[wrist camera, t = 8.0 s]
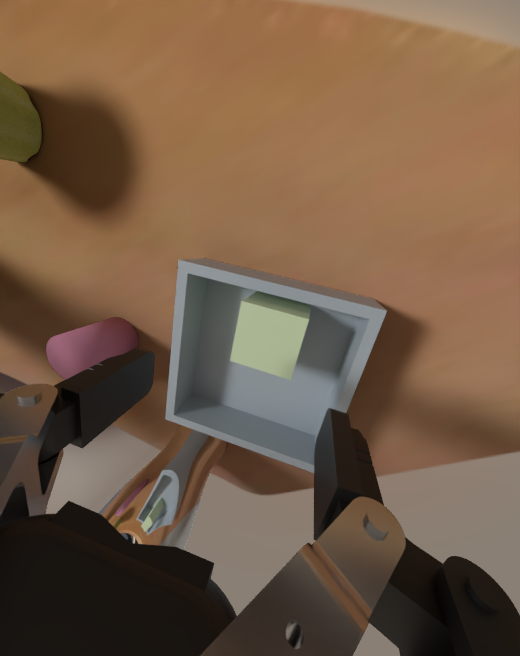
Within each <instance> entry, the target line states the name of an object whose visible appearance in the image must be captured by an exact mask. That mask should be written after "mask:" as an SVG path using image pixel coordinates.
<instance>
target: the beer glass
mask: <svg viewBox="0 0 520 656" xmlns="http://www.w3.org/2000/svg"><path fill="white" fill-rule="evenodd" d="M226 445H227V442H226V441H224V440H221V439H218V438H215V437H213V436H210V435H207V434H204V433H202V432H199V431H196V430H193V429H191V428H188V427H185V426H182V425H180V424H179V425H178V427H177V429H176V431H175V433H174V435H173V436H172V438H171V440H170V442H169V443H168V444H167V446H166V447H165V448H164V449H163V450H162V451H161V452H160V453H159V454H158V455H157V456H156V457H155V458H154V459H153V460H152V461H150V462H149V463H148V464H147V465H146V466H145V467H144V468H142V469H141V470H140V471H139V472H138V473H137V474H136V475H135V476H134V477H132V478H131V479H130V480H129V481H128V482H127V483H126V484H125V485H124V486H123V487H122V488H121V489H120V490H119V491H118V492H117V493H116V494H115V495H114V496H113V497H112V498H111V499H110V500H109V501H108V503H106V505H105V506H104V507H103V508H102V509H101V510H100V511H99V512H98V514H101V515H102V516H103V517H104V518H105V519H106V520H107V521H108V522H109V523H110V524H111V525H112V526H113V527H114V528H115V529H116V530H117V531H118V532H119V533H120V534H121V535H122V536H123V537H124V538H125V539H126V540H128V541H129V542H131V543H135V544H147V545H160V546H172V547H178V548H180V549H182V550H184V547H185V545H186V543H187V540H188V537H189V534H190V531H191V528H192V525H193V522H194V519H195V516H196V513H197V509H198V506H199V503H200V499H201V496H202V492H203V489H204V486H205V483H206V481H207V478H208V476H209V474H210V472H211V470H212V469H213V467H214V466H215V465H216V463H217V462H218V461H219V460H220V458H221V457H222V455H223V454H224V452H225V450H226Z"/></svg>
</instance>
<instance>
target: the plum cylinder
mask: <svg viewBox="0 0 520 656" xmlns="http://www.w3.org/2000/svg"><path fill="white" fill-rule="evenodd" d="M137 347H138V336H137V333H136V331H135V329H134V328H133V326H132V325H131V324H130V323H129V322H128V321H126V320H124V319H122V318H119V317H113V318H110V319H107V320H104V321H100V322H97V323H94V324H91V325H88V326H84V327H81V328H78V329H75V330H72V331H68V332H65V333H62V334H59V335H56V336H53V337H52V338H50V339H49V341H48V343H47V346H46V354H47V358H48V361H49V363H50V365H51V366H52V368H53V369H54V370H55V372H56V373H57V374H58V375H60V376H61V377H62V378H64V379H68V378H70V377H72V376H74V375H76V374H78V373H80V372H82V371H84V370H86V369H89V368H90V367H92V366H94V365H95V364H96V365H97V364H98V363H99V362H101V361H103V360H105V359H107V358H110V357H114V356H118V355H123V354H124V353H126V352H128V351H130V350H132V349H134V348H137Z"/></svg>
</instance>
